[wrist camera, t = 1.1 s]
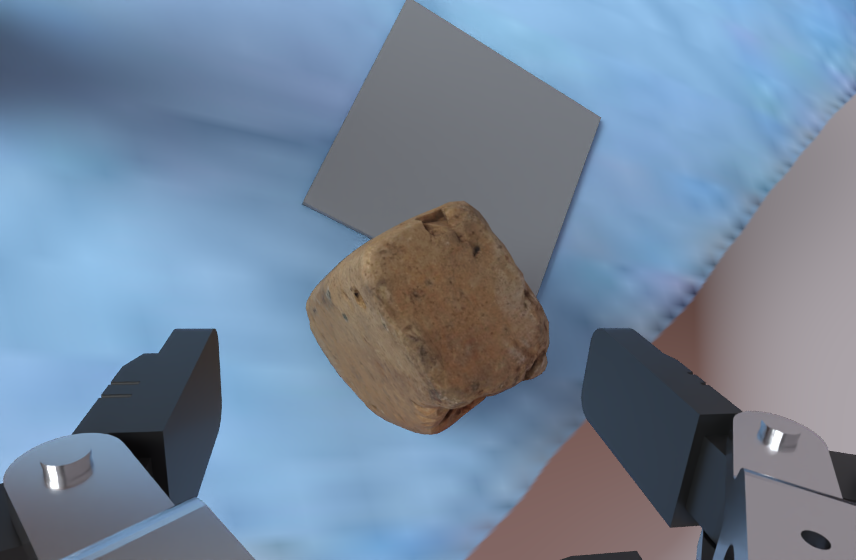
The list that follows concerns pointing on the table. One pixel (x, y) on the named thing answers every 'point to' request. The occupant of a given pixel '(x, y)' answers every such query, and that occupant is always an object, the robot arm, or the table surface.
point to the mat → (456, 142)
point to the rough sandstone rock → (430, 319)
